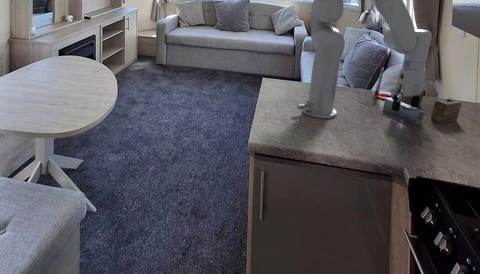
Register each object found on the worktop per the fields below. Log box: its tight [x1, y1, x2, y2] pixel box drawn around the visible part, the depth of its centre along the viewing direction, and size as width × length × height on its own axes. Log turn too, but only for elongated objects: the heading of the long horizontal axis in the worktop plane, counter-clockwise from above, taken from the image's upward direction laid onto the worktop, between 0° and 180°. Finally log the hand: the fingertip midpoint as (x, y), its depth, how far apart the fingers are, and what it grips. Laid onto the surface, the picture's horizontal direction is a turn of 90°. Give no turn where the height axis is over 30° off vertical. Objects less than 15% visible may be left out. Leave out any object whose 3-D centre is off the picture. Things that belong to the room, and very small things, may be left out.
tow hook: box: [373, 67, 392, 101], centre depth 168 cm, size 8×13×9 cm
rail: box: [382, 97, 425, 125], centre depth 149 cm, size 17×3×5 cm, turn 25°
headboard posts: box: [398, 92, 463, 124], centre depth 154 cm, size 22×8×8 cm, turn 26°
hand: (404, 109), depth 149 cm, fingers open, 9 cm apart
